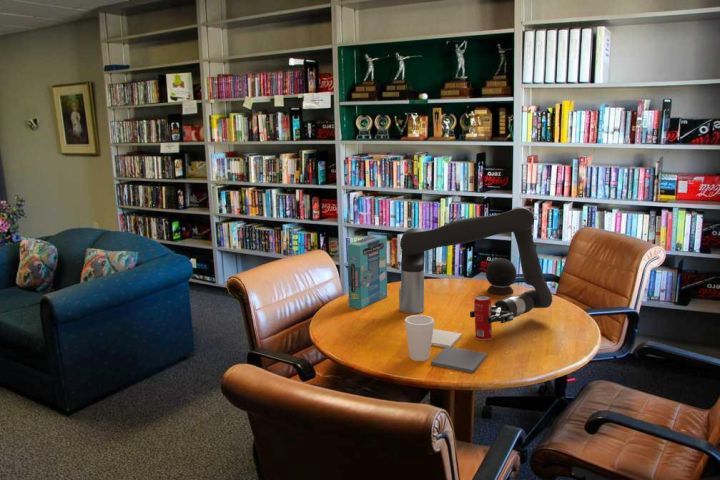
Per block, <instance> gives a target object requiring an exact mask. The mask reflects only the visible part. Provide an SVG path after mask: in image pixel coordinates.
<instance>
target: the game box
mask: <svg viewBox="0 0 720 480" xmlns="http://www.w3.org/2000/svg"><path fill="white" fill-rule="evenodd" d="M387 246H388V236H387V235H381V234H374V235H371V236H368V237H365V238H362V239H359V240H356V241H352V242H349V243H347V281H348V283H347V284H348V307H349V308H351V307H352V309H356V310H362V309H363V308H366V307H367V306H370V305H372V304H375V303H377V302H378V301H381V300H382V299H384V298H387V297H388V247H387Z"/></svg>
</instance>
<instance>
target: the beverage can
mask: <svg viewBox="0 0 720 480" xmlns="http://www.w3.org/2000/svg"><path fill="white" fill-rule="evenodd" d="M473 303H474V304H473V311H474V310H475V317H474V330H475V331H474V332H475V338H476V339H477V340H480V341H489V340H491V339H492V338H493V331H492V329H493V325H492V324H493V323H490V324H488V323H487V317H490V316H491V306H492V300H491V298H490V297H489V296H487V295H477V296H476V297H475V298H474V301H473Z"/></svg>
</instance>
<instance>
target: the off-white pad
mask: <svg viewBox="0 0 720 480" xmlns="http://www.w3.org/2000/svg"><path fill="white" fill-rule="evenodd" d="M462 336H463V333H460V332H459V333H458V332H453V331H448V330H441V329H436V328H433V335H432V342H431V346H435V347H440V348H445V347H446V346H448V347H453V346H454V345H455V344H456V343H457V342H458V341H459V340H461V338H462Z"/></svg>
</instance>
